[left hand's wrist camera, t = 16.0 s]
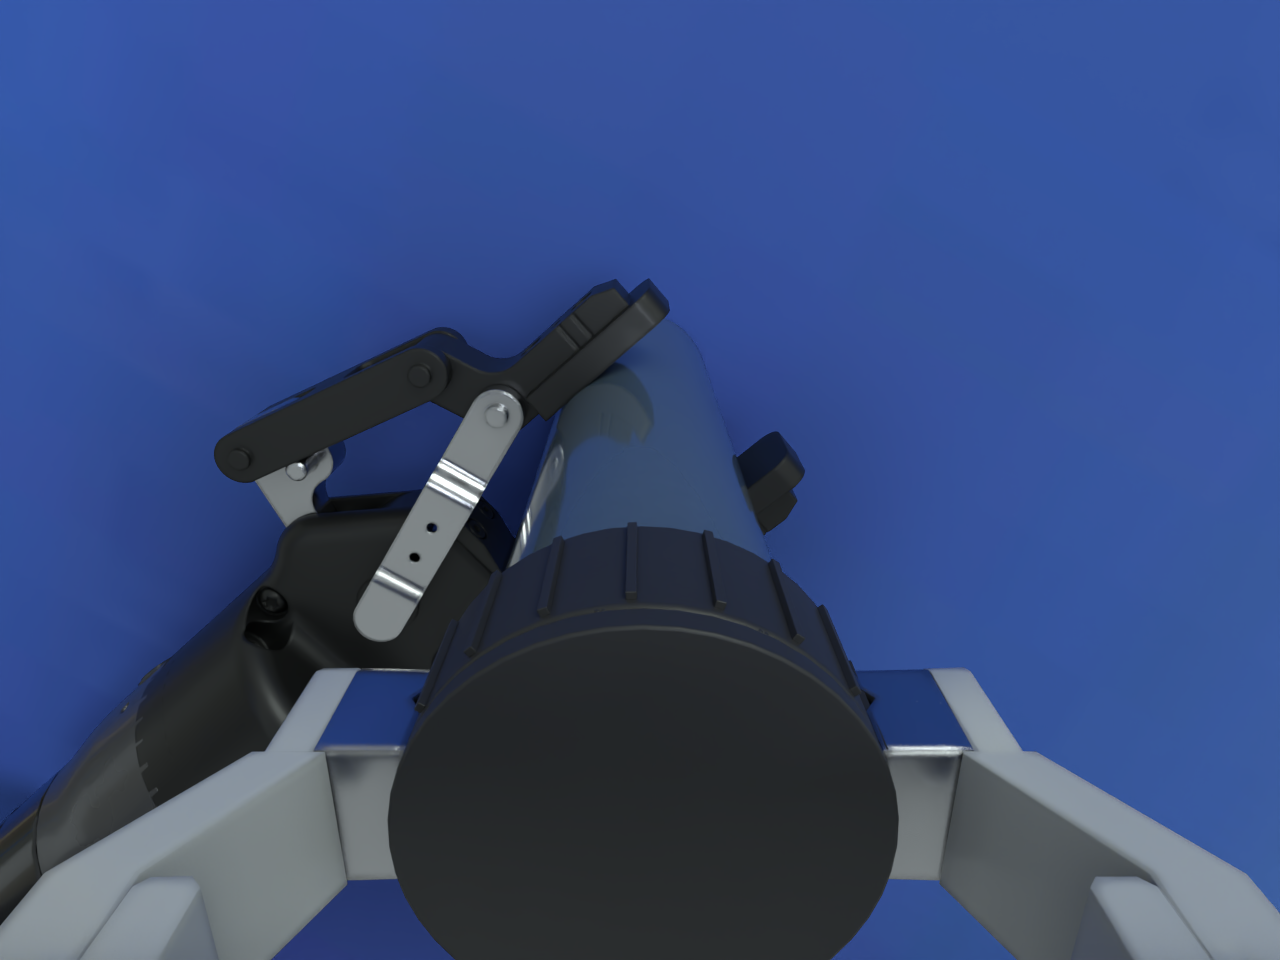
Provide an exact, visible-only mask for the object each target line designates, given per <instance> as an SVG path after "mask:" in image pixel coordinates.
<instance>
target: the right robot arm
mask: <svg viewBox="0 0 1280 960" xmlns="http://www.w3.org/2000/svg"><path fill="white" fill-rule="evenodd" d="M669 311H670V309H669V303H668V300H667V299H666V298H665V297H664V296H663V294H662V293H661V292H660V291H659V290H658V288H657V287H656V286H655V285H654V284H653V283H652V281H651V280H650V279H647V280H645V281H644V282H642V283H641V284H640V285H638V286H637V287H636V288H635V289H634V290H633V291H631V292H630V293H628V292H627V291H626V290H625V289H624V288H623V287H622V285H621V284H620V283H619V282H618V281H617V280H616V279H614V280H611V281H609V282H606V283H603V284H600V285H597V286H595V287H593V288H592V289H591V290H590V291H589V292H588V293H587V294H586V295H584V296H583V297H582V298H581V299H580V300H579V301H578V302H577V303H576V304H575V305H573V306H572V307H571V308H570V309H569V310H568V311H567V312H566V313H565V314H564V315H562V316H561V317H560V318H559V319H558V320H557V321H556V322H555V323H553V324H552V325H551V326H550V327H549V328H548V329H547V330H546V331H545V332H543V333H542V334H541V335H540V336H539V337H538V338H537V339H536V340H535V341H533V342H532V343H531V344H530V345H529V346H528V347H527V348H526V349H525V350H524V351H522V352H521V353H520V354H518V355H516V356H514V357H511V358H504V359H500V358H494V357H490V356H488V355H486V354H484V353H482V352H480V351H478V350H476V349H474V348H473V347H471V346H469V345H467V343H466V341H465V339H464V338H463V337H462V335H461V334H459V333H458V332H457V331H455V330H453V329H450V328H446V327H439V328H435V329H432V330H430V331H428V332H426V333H424V334H422V335H420V336H418V337H415V338H413V339H411V340H409V341H407V342H405V343H403V344H401V345H399V346H396V347H394V348H392V349H390V350H388V351H386V352H384V353H382V354H379V355H377V356H375V357H373V358H371V359H369V360H367V361H365V362H362V363H360V364H358V365H356V366H354V367H352V368H350V369H348V370H346V371H343V372H341V373H339V374H337V375H335V376H333V377H331V378H329V379H326V380H324V381H322V382H320V383H318V384H316V385H314V386H312V387H309V388H307V389H305V390H303V391H301V392H299V393H297V394H295V395H293V396H290V397H288V398H286V399H284V400H282V401H280V402H278V403H276V404H273V405H271V406H269V407H268V408H266V409H265V410H263V411H262V412H260V413H259V414H257V415H256V416H254V417H252V418H251V419H249V420H248V421H246V422H245V423H243V424H242V425H240V426H239V427H237V428H236V429H235V430H233V431H232V432H230V433H229V434H227V435H226V436H224V437H223V438H221V439H220V440H219V441H218V443H217V444H216V446H215V450H214V458H215V462H216V464H217V466H218V468H219V469H220V471H221V472H222V473H223V474H224V475H226V476H227V477H228V478H230V479H232V480H234V481H237V482H242V483H248V482H253V481H255V482H256V483H257V485H258V486H259V488H260V489H261V491H262V492H263V494H264V495H265V497H266V498H267V500H268V501H269V503H270V504H271V506H272V507H273V508H274V510H275V511H276V513H277V514H278V516H279V517H280V519H281V520H282V522H283V523H284V525H285V526H286V529H285V530H284V531H283V533H282V535H281V536H280V539H279V541H278V544H277V549H276V555H275V558H274V561H273V564H272V566H271V567H270V568H269V569H268V570H267V571H266V572H265V573H264V574H262V575H261V576H260V577H259V578H258V579H257V580H256V581H255V582H254V583H253V584H251V585H250V586H249V587H248V588H247V589H246V590H245V591H244V592H243V593H242V594H240V595H239V596H238V597H237V598H236V599H235V600H234V601H233V602H232V603H231V604H229V605H228V606H227V607H226V608H225V609H224V610H223V611H222V612H221V613H220V614H218V615H217V616H216V617H215V618H214V619H213V620H212V621H211V622H210V623H209V624H207V625H206V626H205V627H204V628H203V629H202V630H201V631H200V632H199V633H198V634H196V635H195V636H194V637H193V638H192V639H191V640H190V641H189V642H187V643H186V644H185V645H184V646H183V647H182V648H181V649H180V650H179V651H178V652H176V653H175V654H174V655H173V656H172V657H171V658H169V659H167V660H166V661H164V662H162V663H161V664H159V665H158V666H156V667H155V668H154V669H152V670H151V671H150V672H149V673H147V674H146V675H145V676H144V677H143V678H142V681H141V682H140V683H139V685H138V686H139V687H138V688H137V689H135V690H134V691H133V692H132V693H131V694H130V695H129V696H128V697H127V698H126V699H124V700H123V701H122V702H121V703H120V704H119V705H118V706H117V707H116V708H115V709H114V710H113V711H112V712H111V713H110V714H109V715H108V716H107V717H106V718H105V719H104V720H103V721H102V722H101V723H100V724H99V725H98V726H97V728H96V729H95V730H94V731H93V732H92V733H91V735H90V736H89V737H88V738H87V740H86V741H85V742H84V744H83V745H82V746H81V748H80V749H79V750H78V752H77V753H76V754H75V755H74V757H73V758H72V759H71V760H70V761H69V762H68V763H67V764H66V765H65V766H64V767H63V768H62V769H61V770H59V771H58V772H57V773H56V774H55V775H54V776H53V777H52V778H51V779H49V780H48V781H47V782H46V783H45V784H44V785H43V786H42V787H40V788H39V789H38V790H37V791H36V792H35V793H34V794H33V795H32V796H30V797H29V798H28V799H27V800H26V801H25V802H24V803H23V804H22V805H21V806H19V807H18V808H17V809H15V810H14V811H13V812H12V813H11V814H10V815H9V816H8V817H7V818H6V819H5V820H4V821H2V822H1V823H0V925H1V924H2V923H3V922H4V921H5V919H6V918H7V917H8V916H9V915H10V914H11V912H12V911H13V910H14V909H15V908H16V906H17V905H18V904H19V903H20V902H21V900H22V899H23V898H24V897H25V896H26V894H27V893H28V892H29V891H30V890H31V888H32V887H33V886H34V885H35V884H36V882H37V881H38V880H39V879H40V878H41V876H42V875H43V874H44V873H45V872H47V871H49V870H50V869H52V868H54V867H55V866H57V865H59V864H61V863H62V862H64V861H66V860H67V859H69V858H71V857H73V856H74V855H76V854H78V853H79V852H81V851H83V850H85V849H86V848H88V847H90V846H91V845H93V844H95V843H96V842H98V841H100V840H102V839H103V838H105V837H107V836H108V835H110V834H112V833H114V832H115V831H117V830H119V829H120V828H122V827H124V826H126V825H127V824H129V823H131V822H132V821H134V820H136V819H138V818H139V817H141V816H143V815H144V814H146V813H148V812H150V811H151V810H153V809H155V808H156V807H158V806H160V805H162V804H163V803H165V802H167V801H168V800H170V799H172V798H174V797H175V796H177V795H179V794H180V793H182V792H184V791H186V790H187V789H189V788H191V787H192V786H194V785H196V784H198V783H199V782H201V781H203V780H204V779H206V778H208V777H210V776H211V775H213V774H215V773H216V772H218V771H220V770H222V769H223V768H225V767H227V766H228V765H230V764H232V763H234V762H235V761H237V760H239V759H240V758H242V757H244V756H245V755H247V754H249V753H251V752H264V751H265V750H266V748H267V747H268V745H269V744H270V742H271V740H272V739H273V737H274V736H275V734H276V733H277V731H278V730H279V728H280V726H281V725H282V723H283V722H284V720H285V719H286V717H287V715H288V714H289V712H290V711H291V709H292V708H293V706H294V704H295V703H296V701H297V700H298V698H299V697H300V695H301V693H302V692H303V690H304V689H305V687H306V686H307V684H308V682H309V681H310V679H311V678H312V676H313V675H314V673H315V672H316V671H318V670H321V669H323V668H359V669H363V668H378V669H426V670H430V669H431V667H432V664H433V662H434V659H435V657H436V654H437V652H438V650H439V647H440V645H441V642H442V640H443V637H444V635H445V633H446V630H447V628H448V625H449V624H450V622H451V620H452V619H454V620H456V621H459V620H460V618H461V617H462V615H463V614H464V612H465V611H466V609H467V608H468V606H469V605H470V604H471V603H472V601H473V600H474V599H475V598H476V597H477V596H478V595H479V594H480V593H481V592H482V590H483V589H484V588H485V587H486V586H487V585H488V582H489V579H490V576H491V574H492V573H493V572H495V571H496V570H498V571H499V572H500V573H503V572H504V571H505V570H506V567H507V564H508V561H509V558H510V555H511V552H512V548H513V545H514V542H515V538H514V537H513V536H512V535H511V533H510V531H509V530H508V528H507V526H506V525H505V523H504V521H503V520H502V518H501V516H500V515H499V513H498V512H497V511H496V510H495V509H494V508H493V507H492V506H491V505H490V504H489V503H488V502H487V501H486V500H485V499H484V498H483V497H482V496H481V495H482V493H483V491H484V490H485V488H486V486H487V484H488V483H489V481H490V479H491V477H492V476H493V474H494V472H495V471H496V469H497V467H498V466H499V464H500V462H501V461H502V459H503V457H504V456H505V454H506V452H507V451H508V449H509V447H510V446H511V444H512V442H513V441H514V439H515V437H516V435H517V434H518V432H519V430H521V429H522V428H523V427H524V426H525V425H527V424H528V423H529V422H530V421H531V420H532V419H533V418H535V417H536V416H537V415H538V414H540V416H541V417H542V418H543V419H544V420H545V421H547V420H548V419H549V418H551V417H552V416H553V415H554V414H555V413H556V412H557V411H559V410H560V409H561V408H562V407H563V406H564V405H566V404H567V403H568V402H569V401H570V400H571V399H572V398H573V397H574V396H575V395H576V394H577V393H578V392H580V391H581V390H583V389H584V388H585V387H586V386H588V385H589V384H590V383H591V382H592V381H593V380H594V379H596V378H597V377H598V376H599V375H600V374H601V373H603V372H604V371H605V370H606V369H607V368H608V367H609V366H611V365H612V364H613V363H614V362H615V361H616V360H618V359H619V358H620V357H621V356H622V355H623V354H625V353H626V352H627V351H628V350H629V349H630V348H631V347H633V346H634V345H635V344H636V343H637V342H638V341H640V340H641V339H642V338H643V337H644V336H645V335H646V334H648V333H649V332H650V331H651V330H652V329H653V328H655V327H656V326H657V325H658V324H659V323H660V322H661V321H662V320H663V319H664V318H665V317H666V315H667V314H668V313H669ZM429 401H431V402H433V403H435V404H437V405H439V406H441V407H443V408H445V409H447V410H448V411H450V412H452V413H454V414H456V415H458V416H460V417H462V418H464V419H463V421H462V423H461V425H460V426H459V428H458V430H457V432H456V433H455V435H454V437H453V439H452V441H451V442H450V444H449V446H448V448H447V449H446V451H445V453H444V455H443V456H442V458H441V460H440V462H439V463H438V465H437V467H436V468H435V470H434V472H433V473H432V475H431V477H430V478H429V480H428V482H427V483H426V485H425V487H424V489H423V490H413V491H401V492H388V493H376V494H364V495H351V496H339V497H328V495H327V492H326V488H325V483H326V479H327V477H328V476H329V475H330V474H331V473H332V472H333V471H334V470H335V469H336V468H337V467H338V466H339V465H340V464H341V463H342V462H343V460H344V458H345V445H344V442H343V440H345V439H348V438H350V437H352V436H354V435H356V434H358V433H361V432H363V431H365V430H367V429H369V428H372V427H374V426H376V425H378V424H380V423H383V422H385V421H387V420H389V419H391V418H394V417H396V416H398V415H400V414H402V413H404V412H407V411H409V410H411V409H413V408H415V407H418V406H420V405H422V404H424V403H426V402H429ZM737 460H738V463H739V466H740V469H741V472H742V475H743V478H744V481H745V484H746V487H747V489H748V492H749V495H750V498H751V501H752V504H753V507H754V510H755V513H756V515H757V518H758V521H759V524H760V527H761V530H762V533H763V536H764V535H765V533H766V532H769V531H770V530H772V529H773V528H774V527H776V526H777V525H778V524H780V523H781V522H782V521H784V520H785V519H786V518H787V516H788V515H789V513H790V512H791V510H792V509H793V507H794V505H795V504H796V502H797V499H796V496H795V494H794V492H793V490H792V489H793V488H794V487H795V486H796V485H797V484H798V483H799V482H800V481H801V479H802V478H803V476H804V473H805V470H804V468H803V466H802V464H801V462H800V460H799V458H798V456H797V454H796V452H795V451H794V450H793V449H792V448H791V446H790V445H789V444H788V443H787V442H786V441H785V439H784V438H783V437H782V436H781V435H780V433H779V432H772V433H769V434H767V435H766V436H764V437H763V438H761V439H760V440H759V441H758V442H756V443H755V444H754V445H752V446H751V447H750V448H749V449H747V450H746V451H745V452H743V453H742V454H741V455H740V456H738V457H737Z"/></svg>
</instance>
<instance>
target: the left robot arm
mask: <svg viewBox="0 0 1280 960" xmlns="http://www.w3.org/2000/svg"><path fill="white" fill-rule="evenodd" d="M429 671H430V670H426V669H378V668H363V669H359V668H323V669H321V670H318V671H316V672H315V673H314V675H313V676H312V678H311V679H310V681H309V682H308V684H307V686H306V687H305V689H304V690H303V692H302V693H301V695H300V697H299V698H298V700H297V701H296V703H295V704H294V706H293V708H292V709H291V711H290V712H289V714H288V715H287V717H286V719H285V720H284V722H283V723H282V725H281V726H280V728H279V730H278V731H277V733H276V734H275V736H274V737H273V739H272V740H271V742H270V744H269V745H268V747H267V748H266V750H265V751H264V752H251V753H249V754H247V755H245V756H244V757H242V758H240V759H239V760H237V761H235V762H234V763H232V764H230V765H228V766H227V767H225V768H223V769H222V770H220V771H218V772H216V773H215V774H213V775H211V776H210V777H208V778H206V779H204V780H203V781H201V782H199V783H198V784H196V785H194V786H192V787H191V788H189V789H187V790H186V791H184V792H182V793H180V794H179V795H177V796H175V797H174V798H172V799H170V800H168V801H167V802H165V803H163V804H162V805H160V806H158V807H156V808H155V809H153V810H151V811H150V812H148V813H146V814H144V815H143V816H141V817H139V818H138V819H136V820H134V821H132V822H131V823H129V824H127V825H126V826H124V827H122V828H120V829H119V830H117V831H115V832H114V833H112V834H110V835H108V836H107V837H105V838H103V839H102V840H100V841H98V842H96V843H95V844H93V845H91V846H90V847H88V848H86V849H85V850H83V851H81V852H79V853H78V854H76V855H74V856H73V857H71V858H69V859H67V860H66V861H64V862H62V863H61V864H59V865H57V866H55V867H54V868H52V869H50V870H49V871H47V872H45V873H44V874H43V875H42V876H41V878H40V879H39V880H38V881H37V882H36V884H35V885H34V886H33V887H32V888H31V890H30V891H29V892H28V893H27V894H26V896H25V897H24V898H23V899H22V900H21V902H20V903H19V904H18V905H17V906H16V908H15V909H14V910H13V911H12V912H11V914H10V915H9V916H8V917H7V918H6V919H5V921H4V922H3V923H2V924H1V925H0V960H271V959H272V958H273V957H274V956H275V955H276V954H277V953H278V952H279V951H280V950H281V949H282V948H283V947H284V946H285V945H286V944H287V943H288V942H289V941H290V940H291V939H293V938H294V937H295V936H296V935H297V934H298V933H299V932H300V931H301V930H302V929H303V928H304V927H305V926H306V925H307V924H308V923H309V922H310V921H311V920H312V919H313V918H314V917H315V916H316V915H317V914H318V913H319V912H320V911H321V910H322V909H323V908H324V907H325V906H326V905H327V904H328V903H329V902H330V901H331V900H332V899H333V898H334V897H335V896H336V895H337V894H338V893H339V892H340V891H341V890H342V889H343V888H344V887H345V886H346V885H347V880H373V879H397V876H396V874H395V870H394V865H393V861H392V857H391V853H390V848H389V837H388V821H387V819H388V809H389V800H390V792H391V789H392V785H393V782H394V778H395V775H396V771H397V768H398V765H399V762H400V760H401V757H402V755H403V752H404V750H405V748H406V746H407V743H408V740H409V737H410V735H411V732H412V730H413V727H414V725H415V722H416V720H417V717H418V715H419V712H417V711H415V710H414V708H415V705H416V703H417V701H418V698H419V696H420V693H421V691H422V688H423V686H424V684H425V681H426V679H427V676H428V674H429ZM855 672H856V674H857V676H858V678H857V677H856V675H855V673H854V671H853V673H854V675H855V677H856V680H857V682H858V685H859V687H860V689H861V690H863V691H864V692H865V695H866V697H867V700H868V702H869V704H870V707H869V708H868V710H867V711H866V712H867V715H868V717H869V720H870V722H871V724H872V727H873V729H874V732H875V734H876V736H877V739H878V741H879V743H880V746H881V748H882V751H883V754H884V756H885V758H886V761H887V763H888V766H889V769H890V773H891V776H892V780H893V783H894V786H895V790H896V796H897V805H898V814H899V826H898V844H897V849H896V853H895V858H894V862H893V867H892V871H891V874H890V876H889V879H913V880H940V883H939V884H940V885H941V886H942V887H943V888H944V889H945V890H946V891H947V892H948V893H949V894H950V895H951V896H953V897H954V898H955V899H956V900H957V901H958V902H959V903H960V904H961V905H962V906H963V907H964V908H965V909H966V910H967V911H968V912H969V913H970V914H971V915H972V916H973V917H974V918H975V919H976V920H977V921H978V922H979V923H980V924H981V925H982V926H983V927H984V928H985V929H986V930H987V931H988V932H989V933H990V934H991V935H992V936H993V937H994V938H995V939H996V940H997V941H998V942H1000V943H1001V944H1002V945H1003V946H1004V947H1005V948H1006V949H1007V950H1008V951H1009V952H1010V953H1011V954H1012V955H1013V956H1014V957H1015V958H1016V959H1017V960H1280V913H1279V912H1278V911H1277V910H1276V908H1275V907H1274V906H1273V905H1272V904H1271V903H1270V901H1269V900H1268V899H1267V898H1266V897H1265V895H1264V894H1263V893H1262V892H1261V891H1260V889H1259V888H1258V887H1257V886H1256V885H1255V884H1254V882H1253V881H1252V880H1251V879H1250V878H1249V876H1248V875H1247V874H1245V873H1244V872H1242V871H1240V870H1238V869H1237V868H1235V867H1233V866H1232V865H1230V864H1228V863H1226V862H1225V861H1223V860H1221V859H1220V858H1218V857H1216V856H1214V855H1213V854H1211V853H1209V852H1207V851H1206V850H1204V849H1202V848H1201V847H1199V846H1197V845H1195V844H1194V843H1192V842H1190V841H1189V840H1187V839H1185V838H1183V837H1182V836H1180V835H1178V834H1176V833H1175V832H1173V831H1171V830H1170V829H1168V828H1166V827H1164V826H1163V825H1161V824H1159V823H1158V822H1156V821H1154V820H1152V819H1151V818H1149V817H1147V816H1146V815H1144V814H1142V813H1140V812H1139V811H1137V810H1135V809H1133V808H1132V807H1130V806H1128V805H1127V804H1125V803H1123V802H1121V801H1120V800H1118V799H1116V798H1115V797H1113V796H1111V795H1109V794H1108V793H1106V792H1104V791H1102V790H1101V789H1099V788H1097V787H1096V786H1094V785H1092V784H1090V783H1089V782H1087V781H1085V780H1084V779H1082V778H1080V777H1078V776H1077V775H1075V774H1073V773H1071V772H1070V771H1068V770H1066V769H1065V768H1063V767H1061V766H1059V765H1058V764H1056V763H1054V762H1053V761H1051V760H1049V759H1047V758H1046V757H1044V756H1042V755H1040V754H1039V753H1037V752H1023V751H1022V749H1021V748H1020V746H1019V744H1018V743H1017V741H1016V740H1015V738H1014V737H1013V735H1012V734H1011V732H1010V731H1009V729H1008V728H1007V726H1006V725H1005V723H1004V722H1003V720H1002V719H1001V717H1000V716H999V714H998V713H997V711H996V710H995V708H994V707H993V705H992V703H991V702H990V700H989V699H988V697H987V696H986V694H985V693H984V691H983V690H982V688H981V687H980V685H979V684H978V682H977V681H976V679H975V678H974V676H973V675H972V673H971V672H970V671H969V670H967V669H965V668H964V667H962V668H933V669H924V670H868V671H855ZM877 725H878V726H877ZM878 727H879V728H878ZM879 729H880V731H881V733H882V735H883V738H884V740H885V742H886V745H887V747H888V750H887V749H886V747H885V744H884V741H883V739H882V736H881V734H880V731H879Z"/></svg>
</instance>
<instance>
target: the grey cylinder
mask: <svg viewBox="0 0 1280 960" xmlns="http://www.w3.org/2000/svg"><path fill="white" fill-rule="evenodd" d="M628 522H637V526H648V527H666V528H675V529H680V530H686V531H692V532H697V533H701V534H703V531H704V530H708V531H712V532H713V535H714V538H718V539H721V540H724V541H727V542H730V543H732V544H734V545H736V546H739V547H741V548H743V549H745V550H747V551H750V552H752V553H754V554H756V555H757V556H759V557H760V558H762V559H764V560H765V561H767V562H770V560H771V556H770V553H769V550H768V547H767V544H766V542H765V539H764V536H763V533H762V530H761V527H760V524H759V521H758V518H757V515H756V513H755V510H754V507H753V504H752V501H751V498H750V495H749V492H748V489H747V487H746V484H745V481H744V478H743V475H742V472H741V469H740V466H739V463H738V460H737V458H736V455H735V452H734V449H733V446H732V443H731V440H730V437H729V434H728V432H727V429H726V426H725V423H724V420H723V417H722V414H721V411H720V408H719V405H718V403H717V400H716V397H715V394H714V391H713V388H712V385H711V382H710V379H709V377H708V374H707V371H706V368H705V365H704V362H703V359H702V357H701V354H700V352H699V350H698V348H697V346H696V344H695V343H694V342H693V340H692V339H691V337H690V336H689V335H688V334H687V333H686V332H685V331H684V330H683V329H681V328H680V327H679V326H678V325H676V324H674V323H673V322H671V321H669V320H667V319H665V318H664V319H663V320H662V321H661V322H660V323H659V324H658V325H657V326H656V327H655V328H653V329H652V330H651V331H650V332H649V333H648V334H646V335H645V336H644V337H643V338H642V339H641V340H640V341H638V342H637V343H636V344H635V345H634V346H633V347H631V348H630V349H629V350H628V351H627V352H626V353H625V354H623V355H622V356H621V357H620V358H619V359H618V360H616V361H615V362H614V363H613V364H612V365H611V366H609V367H608V368H607V369H606V370H605V371H604V372H603V373H601V374H600V375H599V376H598V377H597V378H596V379H594V380H593V381H592V382H591V383H590V384H589V385H588V386H586V387H585V388H584V389H583V390H581V391H580V392H578V393H577V394H576V395H575V396H574V397H573V398H572V399H571V400H570V401H569V402H568V403H567V404H566V405H564V406H563V407H562V408H561V409H560V410H559V411H557V412H556V414H555V417H554V420H553V423H552V427H551V430H550V433H549V436H548V439H547V442H546V445H545V448H544V452H543V455H542V458H541V461H540V464H539V467H538V470H537V473H536V477H535V480H534V483H533V486H532V489H531V492H530V495H529V498H528V502H527V505H526V508H525V511H524V514H523V517H522V520H521V523H520V527H519V530H518V533H517V536H516V539H515V542H514V545H513V548H512V552H511V555H510V558H509V561H508V564H507V567H506V569H507V568H509V567H511V566H512V565H514V564H515V563H517V562H519V561H520V560H522V559H523V558H525V557H527V556H528V555H530V554H532V553H534V552H536V551H538V550H540V549H543V548H545V547H547V546H549V545H551V544H552V542H553V538H555V537H558V536H562V537H563V539H564V540H565V539H568V538H571V537H574V536H578V535H581V534H584V533H589V532H594V531H599V530H603V529H609V528H621V527H627V524H628Z"/></svg>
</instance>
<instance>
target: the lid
mask: <svg viewBox="0 0 1280 960" xmlns="http://www.w3.org/2000/svg"><path fill="white" fill-rule="evenodd" d="M853 671H854V673H855V675H856V677H857V678H858V676H857V674H856V672H855V669H854V667H853V664H852V662H851V661H848V658H847V656H846V654H845V651H844V649H843V647H842V644H841V642H840V639H839V637H838V635H837V632H836V630H835V627H834V625H833V623H832V620H831V618H830V616H829V613H828V611H827V609H826V608H825V606H824V605H821V606H819V607H817V606H816V605H815V603H814V602H813V601H812V600H811V599H810V598H809V597H808V596H807V594H806V593H805V592H804V591H803V590H802V589H801V588H800V587H799V586H798V585H797V584H796V583H795V582H794V581H792V580H791V579H790V578H789V577H788V576H786V575H785V574H784V573H783V572H782V570H781V567H780V564H779V562H777V561H776V560H774V559H771V560H770V562H767V561H765V560H764V559H762V558H760V557H759V556H757V555H756V554H754V553H752V552H750V551H747V550H745V549H743V548H741V547H739V546H736V545H734V544H732V543H730V542H727V541H724V540H721V539H718V538H714V535H713V532H712V531H708V530H704V531H703V534H701V533H697V532H692V531H686V530H680V529H675V528H666V527H648V526H637V522H628V524H627V527H621V528H609V529H603V530H599V531H594V532H589V533H584V534H581V535H578V536H574V537H571V538H568V539H565V540H564V539H563V537H562V536H558V537H555V538H553V542H552V544H551V545H549V546H547V547H545V548H543V549H540V550H538V551H536V552H534V553H532V554H530V555H528V556H527V557H525V558H523V559H522V560H520V561H519V562H517V563H515V564H514V565H512V566H511V567H509V568H507V569H506V570H505V571H504V572H503V573H500V572H499V571H498V570H496V571H495V572H493V573H492V574H491V576H490V579H489V582H488V585H487V586H486V587H485V588H484V589H483V590H482V592H481V593H480V594H479V595H478V596H477V597H476V598H475V599H474V600H473V601H472V603H471V604H470V605H469V606H468V608H467V609H466V611H465V612H464V614H463V615H462V617H461V618H460V620H459V621H456V620H454V619H452V620H451V622H450V624H449V625H448V628H447V630H446V633H445V635H444V637H443V640H442V642H441V645H440V647H439V650H438V652H437V654H436V657H435V659H434V662H433V664H432V667H431V669H430V671H429V674H428V676H427V679H426V681H425V684H424V686H423V688H422V691H421V693H420V696H419V698H418V701H417V703H416V705H415V708H414V710H415V711H417V712H419V715H418V717H417V720H416V722H415V725H414V727H413V730H412V732H411V735H410V737H409V740H408V743H407V746H406V748H405V750H404V752H403V755H402V757H401V760H400V762H399V765H398V768H397V771H396V775H395V778H394V782H393V785H392V789H391V792H390V800H389V809H388V819H387V821H388V837H389V848H390V853H391V857H392V861H393V865H394V870H395V874H396V876H397V879H398V881H399V883H400V886H401V888H402V891H403V893H404V896H405V898H406V900H407V901H408V903H409V905H410V906H411V908H412V910H413V911H414V913H415V915H416V916H417V918H418V920H419V921H420V922H421V923H422V925H423V926H424V927H425V928H426V930H427V931H428V932H429V933H430V935H431V936H432V937H433V938H434V940H435V941H436V942H437V943H438V944H439V945H441V946H442V947H443V948H444V949H445V950H446V951H447V952H448V953H449V954H450V955H451V956H452V957H453V958H454V959H455V960H830V959H832V958H833V957H834V956H835V955H836V954H837V953H838V952H839V951H840V950H841V949H842V948H843V947H844V946H845V945H846V944H847V943H848V942H849V941H850V940H851V939H852V938H853V937H854V936H855V934H856V933H857V932H858V931H859V929H860V928H861V927H862V926H863V924H864V923H865V922H866V921H867V919H868V918H869V916H870V915H871V913H872V911H873V910H874V908H875V906H876V905H877V903H878V901H879V899H880V898H881V896H882V894H883V891H884V889H885V886H886V884H887V881H888V879H889V876H890V874H891V871H892V867H893V862H894V858H895V853H896V849H897V844H898V826H899V814H898V805H897V796H896V790H895V786H894V783H893V780H892V776H891V773H890V769H889V766H888V763H887V761H886V758H885V756H884V754H883V751H882V748H881V746H880V743H879V741H878V739H877V736H876V734H875V732H874V729H873V727H872V724H871V722H870V720H869V717H868V715H867V712H866V711H867V710H868V708H869V707H870V704H869V702H868V700H867V697H866V695H865V692H864V691H863V690H861V689H860V687H859V685H858V682H857V680H856V677H855V675H854V673H853ZM877 726H878V725H877ZM878 728H879V727H878ZM879 731H880V729H879ZM880 734H881V736H882V739H883V741H884V744H885V747H886V749H887V750H888V747H887V745H886V742H885V740H884V738H883V735H882V733H881V731H880Z"/></svg>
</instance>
